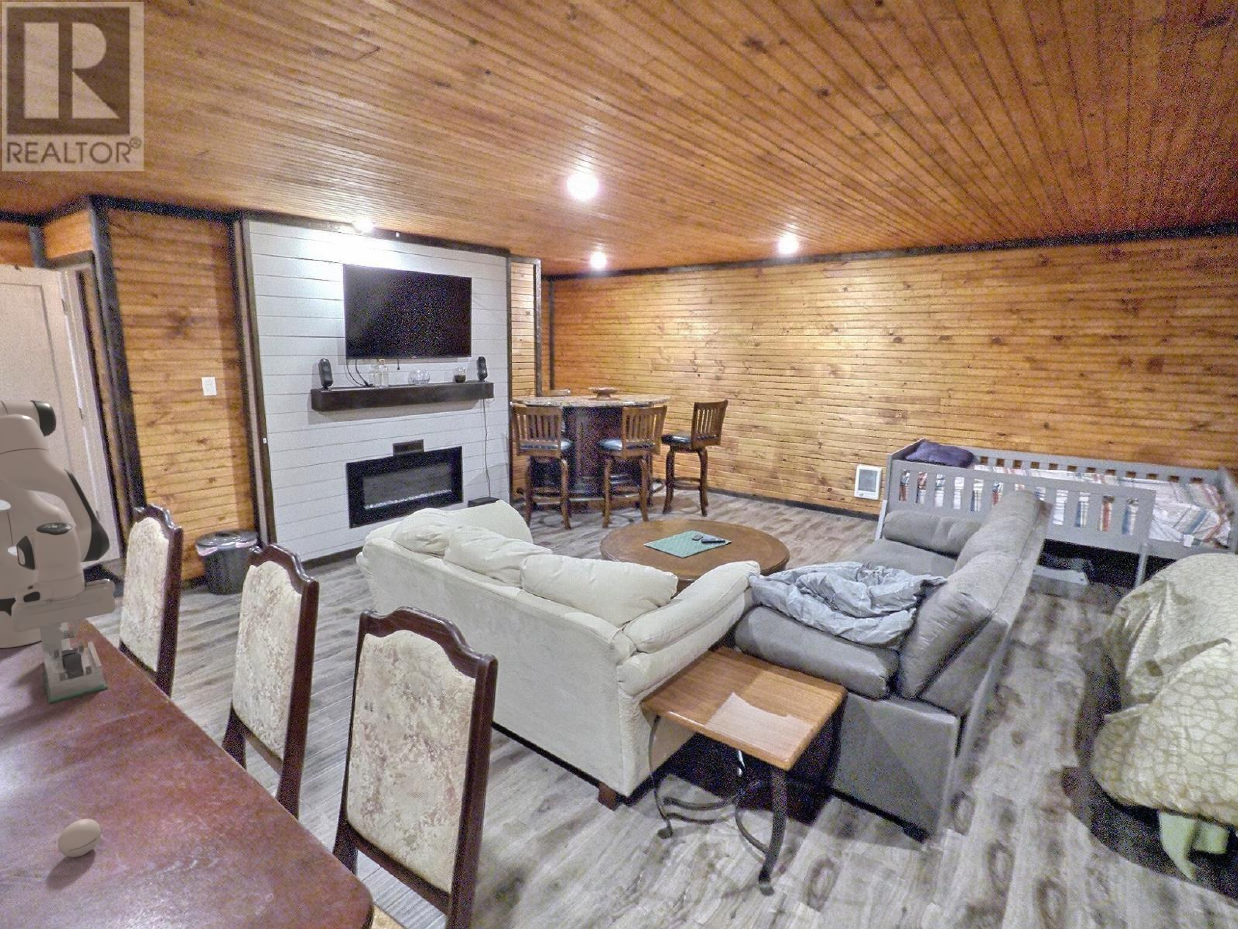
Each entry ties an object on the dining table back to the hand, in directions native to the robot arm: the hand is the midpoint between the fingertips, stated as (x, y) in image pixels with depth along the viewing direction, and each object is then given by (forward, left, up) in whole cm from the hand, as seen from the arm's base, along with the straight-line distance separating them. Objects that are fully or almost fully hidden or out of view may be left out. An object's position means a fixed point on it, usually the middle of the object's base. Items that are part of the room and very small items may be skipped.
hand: (68, 637), depth 163 cm
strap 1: (-2, 0, -5) cm, 6 cm away
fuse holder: (+2, 0, -11) cm, 11 cm away
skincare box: (-16, -2, -11) cm, 19 cm away
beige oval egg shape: (+77, -4, -11) cm, 78 cm away
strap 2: (+7, 0, -5) cm, 9 cm away
